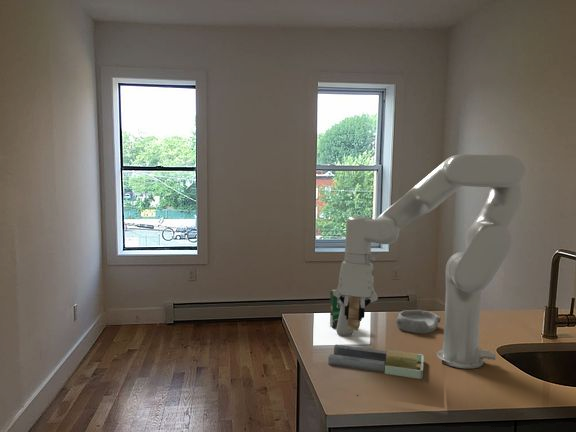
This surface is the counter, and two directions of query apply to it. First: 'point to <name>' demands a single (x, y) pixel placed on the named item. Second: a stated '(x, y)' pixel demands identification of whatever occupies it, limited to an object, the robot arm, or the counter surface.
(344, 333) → the salt shaker
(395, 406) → the counter surface
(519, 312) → the counter surface
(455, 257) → the robot arm
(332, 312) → the coffee box
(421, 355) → the tray
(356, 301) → the tan gable carton
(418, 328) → the dish
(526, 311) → the counter surface
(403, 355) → the chip
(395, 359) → the tan cube
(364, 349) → the slot board
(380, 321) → the counter surface
